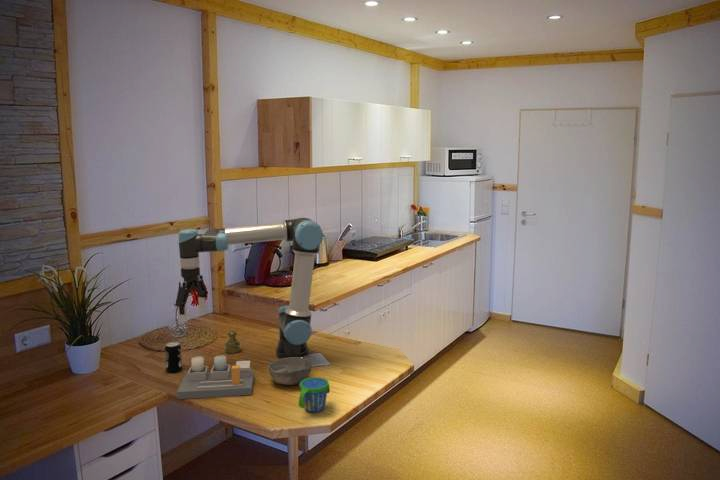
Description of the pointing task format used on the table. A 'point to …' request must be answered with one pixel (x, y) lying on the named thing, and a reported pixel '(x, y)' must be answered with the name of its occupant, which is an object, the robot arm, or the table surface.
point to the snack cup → (313, 393)
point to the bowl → (290, 370)
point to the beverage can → (173, 357)
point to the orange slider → (236, 375)
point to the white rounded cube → (197, 364)
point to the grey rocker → (243, 365)
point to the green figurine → (232, 343)
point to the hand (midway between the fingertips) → (193, 317)
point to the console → (214, 384)
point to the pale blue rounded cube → (220, 363)
